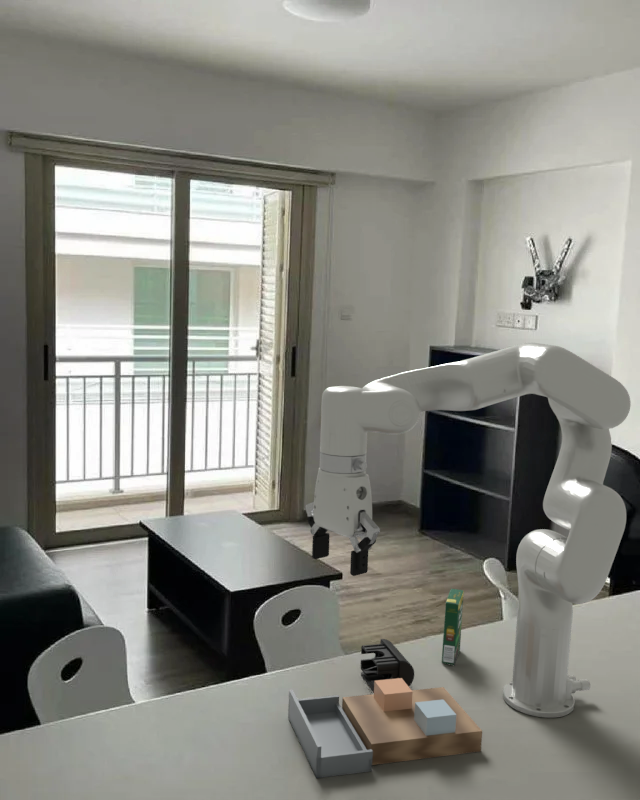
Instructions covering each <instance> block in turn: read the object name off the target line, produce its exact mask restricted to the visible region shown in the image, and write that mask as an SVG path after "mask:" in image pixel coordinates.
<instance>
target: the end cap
mask: <svg viewBox="0 0 640 800" xmlns="http://www.w3.org/2000/svg"><path fill="white" fill-rule="evenodd" d="M379 641H380V643H377V644H376V643H375V644H365V645H361V647H360V649H361V650H360V653H361V655H366V654H367V655H368V654H374V657H371V658H364V659H360V670H361V672H360V676H361V678H362V679H363V680H364V682H365V683H366V684H367V686H368V687H369V688H370V690H371V691H372V694H374V681H376V680H386V679H397V678H402V679H403V680H404V681H405V683H406V684H407V685H408V686H409V687H410V686H411V685H412V683H413V681H414V679H415V670H414V667H413V665H412V664H411V663H410V662H409V661H408V660H407V658H406V657H405V656H404V655H403V654H402V653H401V651H400V650H399V649H398V648H397V647H396V646H395V645H394V644H393V642H391V640H388V639H385V638H380V640H379Z"/></svg>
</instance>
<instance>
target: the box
mask: <svg viewBox="0 0 640 800" xmlns="http://www.w3.org/2000/svg"><path fill="white" fill-rule="evenodd" d="M287 711H288V713H287V715H288V716H287V718H288V721H289V722H290V724H291V727H292V729H293V730H294V734H295V736H296V738H297V740H298V742H299V744H300V746H301V748H302V750H303V752H304V755H305V757H306V759H307V761H308V763H309V766H310V768H311V770H312V772H313V774H314V776H315V778H316V779H320V778H329V777H336V776H342V775H345V776H346V775H350V774H360V773H366V772H367V773H368V772H372V771H373V765H372V758H373V751H372V749H370V750H367V749H366V747H365V746H364V744H363V742H362V741H361V739H360V737H359V736H358V734H357V732H356V731H355V729H354V727H353V726H352V724H351V722H350V721H349V719H348V717H347V716H346V714H345V712H344V711H343V709H342V705H341V704H340V696H339V695H338V694H335V695H326V696H325V695H324V696H323V695H322V696H314V697H305V698H304V697H303V698H298V697H297V696H296V694H295V692H294V689H289V691H288V709H287Z"/></svg>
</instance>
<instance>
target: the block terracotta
mask: <svg viewBox="0 0 640 800" xmlns="http://www.w3.org/2000/svg"><path fill="white" fill-rule="evenodd" d="M412 690H413V689H412V688H410V686H408V685H407V684H406V683H405V681H404V680H403V679H402V678H397V679H386V680H376V681H374V693H373V694H374V698H375V700H376V701H377V703H378V704H379V706H380V707H381V708H382V710H383V711H394V710H403V709H412V694H413V691H412Z"/></svg>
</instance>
